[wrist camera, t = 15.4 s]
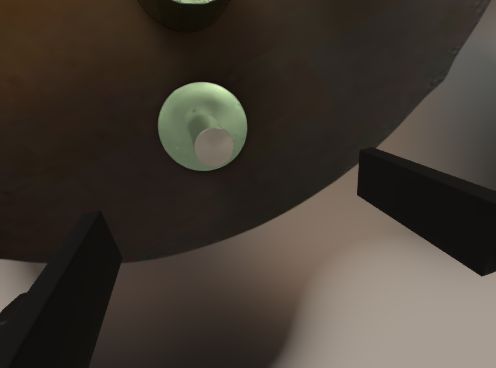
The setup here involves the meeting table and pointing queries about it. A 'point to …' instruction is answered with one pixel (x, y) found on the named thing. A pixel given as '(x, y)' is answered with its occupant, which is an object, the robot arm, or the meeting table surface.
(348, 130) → the meeting table surface
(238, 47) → the meeting table surface
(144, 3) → the trash can
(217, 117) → the bin lid
